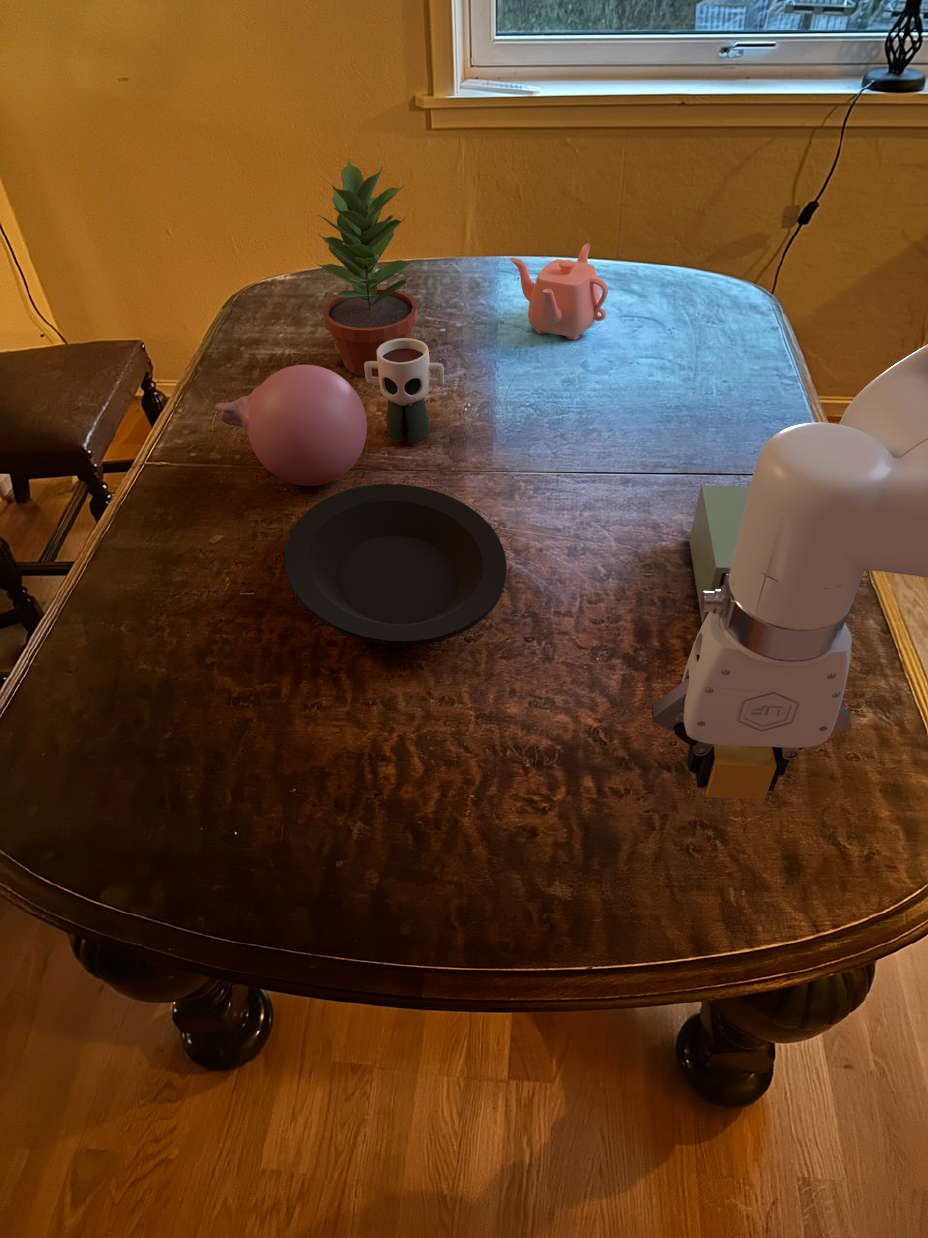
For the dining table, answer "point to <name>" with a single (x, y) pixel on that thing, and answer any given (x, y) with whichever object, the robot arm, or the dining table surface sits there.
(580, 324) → the teapot
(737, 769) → the block
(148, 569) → the dining table surface
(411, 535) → the plate
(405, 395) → the character mug
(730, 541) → the cabinet
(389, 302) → the potted plant
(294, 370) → the balloon
